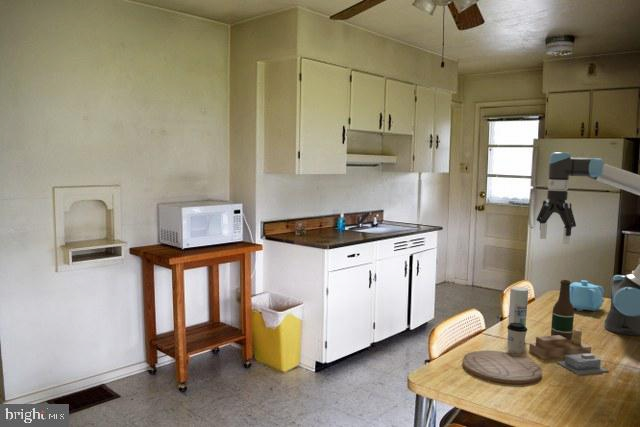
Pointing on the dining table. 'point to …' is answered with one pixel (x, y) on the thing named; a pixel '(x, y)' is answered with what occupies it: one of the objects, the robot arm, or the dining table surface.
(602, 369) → the mat
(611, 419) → the dining table surface
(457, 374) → the dining table surface
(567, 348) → the plane body
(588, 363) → the lever cap
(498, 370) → the trivet
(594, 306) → the decorative pot
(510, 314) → the spray can
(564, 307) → the beer bottle
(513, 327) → the coffee cup
